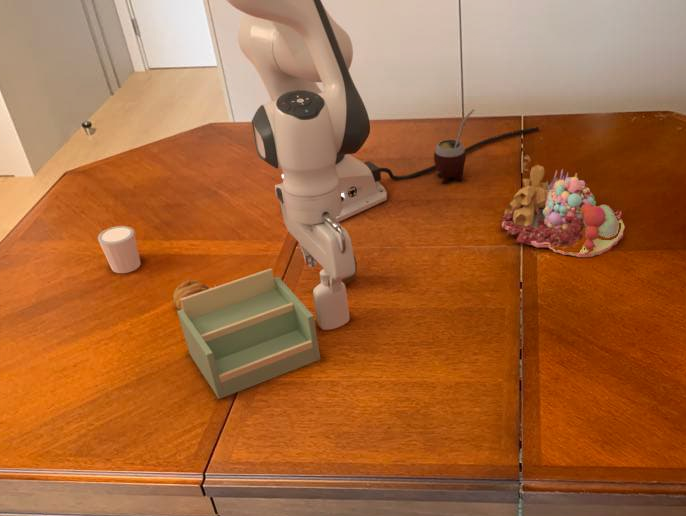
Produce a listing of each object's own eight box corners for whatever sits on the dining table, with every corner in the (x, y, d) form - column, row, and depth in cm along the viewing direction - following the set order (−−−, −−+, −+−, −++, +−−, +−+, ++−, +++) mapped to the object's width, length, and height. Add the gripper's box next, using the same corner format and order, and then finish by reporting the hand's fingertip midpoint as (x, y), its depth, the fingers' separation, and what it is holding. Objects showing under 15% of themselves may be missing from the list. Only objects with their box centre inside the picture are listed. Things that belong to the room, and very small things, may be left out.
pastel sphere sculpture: (486, 242, 161) (487, 200, 155) (521, 190, 177) (523, 149, 171) (611, 264, 153) (616, 220, 147) (635, 207, 169) (641, 165, 163)
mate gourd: (429, 181, 182) (426, 115, 172) (446, 167, 187) (445, 103, 177) (457, 188, 179) (456, 122, 169) (475, 174, 184) (475, 108, 174)
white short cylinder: (134, 276, 157) (123, 244, 152) (101, 273, 158) (90, 242, 153) (149, 257, 162) (140, 226, 157) (118, 255, 163) (108, 224, 158)
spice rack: (286, 319, 144) (276, 266, 137) (320, 359, 135) (312, 305, 128) (189, 354, 137) (173, 300, 130) (218, 399, 128) (203, 344, 121)
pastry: (224, 315, 146) (219, 297, 143) (188, 327, 143) (182, 310, 141) (206, 291, 152) (201, 273, 149) (171, 302, 149) (166, 285, 147)
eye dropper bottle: (318, 316, 144) (309, 258, 136) (350, 315, 144) (343, 256, 136) (317, 331, 141) (308, 272, 133) (349, 329, 141) (342, 270, 133)
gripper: (361, 222, 121) (368, 300, 130) (305, 173, 134) (315, 246, 143) (323, 234, 119) (333, 312, 128) (270, 182, 132) (282, 256, 141)
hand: (323, 277), depth 136 cm, fingers open, 8 cm apart
